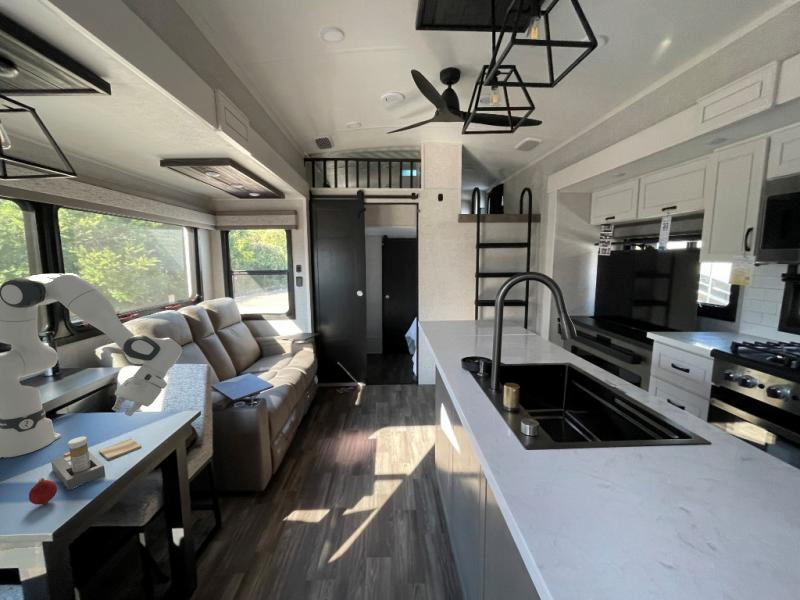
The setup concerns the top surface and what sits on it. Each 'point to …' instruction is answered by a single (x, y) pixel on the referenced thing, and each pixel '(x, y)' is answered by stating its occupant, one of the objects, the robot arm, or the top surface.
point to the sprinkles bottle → (79, 454)
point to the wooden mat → (119, 449)
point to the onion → (42, 492)
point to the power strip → (70, 481)
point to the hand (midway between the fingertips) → (120, 412)
